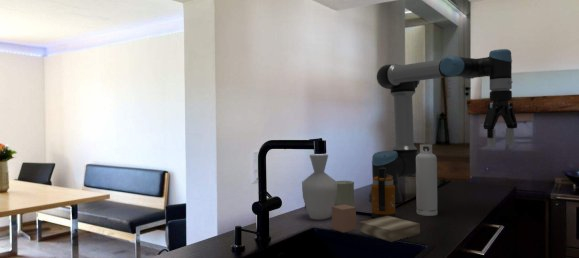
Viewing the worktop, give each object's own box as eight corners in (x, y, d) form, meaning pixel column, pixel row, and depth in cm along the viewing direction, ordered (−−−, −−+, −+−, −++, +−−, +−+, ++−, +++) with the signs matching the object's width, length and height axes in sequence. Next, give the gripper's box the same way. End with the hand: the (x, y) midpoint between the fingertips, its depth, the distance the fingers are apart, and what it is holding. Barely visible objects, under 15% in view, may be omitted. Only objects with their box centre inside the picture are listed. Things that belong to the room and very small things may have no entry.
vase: (318, 211, 168) (317, 152, 167) (345, 216, 158) (344, 154, 157) (294, 217, 158) (293, 155, 157) (321, 223, 148) (320, 157, 147)
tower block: (332, 228, 141) (331, 206, 141) (344, 226, 144) (344, 204, 144) (343, 232, 136) (342, 209, 136) (356, 229, 139) (355, 207, 139)
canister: (396, 215, 157) (395, 165, 157) (394, 222, 147) (393, 169, 147) (373, 214, 160) (372, 165, 160) (369, 221, 150) (368, 168, 150)
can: (345, 211, 166) (344, 183, 166) (329, 208, 173) (328, 181, 173) (358, 208, 172) (358, 180, 172) (342, 205, 179) (342, 178, 179)
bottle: (438, 211, 162) (437, 144, 162) (436, 216, 155) (435, 145, 155) (417, 210, 166) (416, 144, 165) (415, 214, 159) (414, 145, 158)
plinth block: (359, 233, 136) (359, 221, 136) (388, 226, 144) (388, 215, 144) (391, 243, 124) (391, 230, 124) (420, 235, 132) (420, 223, 132)
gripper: (492, 88, 141) (493, 148, 141) (526, 90, 155) (527, 144, 155) (472, 90, 147) (473, 147, 147) (507, 91, 161) (507, 143, 161)
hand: (501, 145), depth 151 cm, fingers open, 13 cm apart
